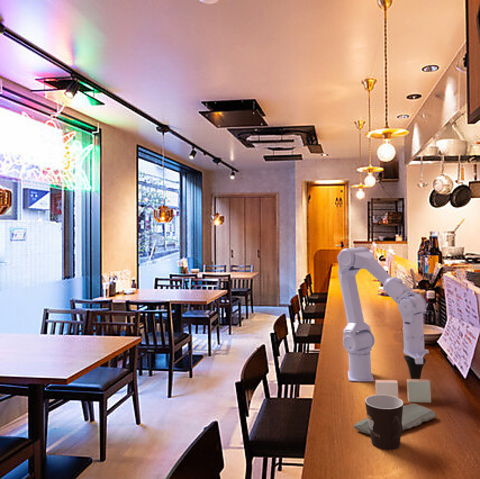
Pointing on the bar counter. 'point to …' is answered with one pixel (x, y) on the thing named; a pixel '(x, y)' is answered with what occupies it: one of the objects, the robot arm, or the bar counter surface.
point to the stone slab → (404, 418)
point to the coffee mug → (385, 420)
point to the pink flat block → (418, 390)
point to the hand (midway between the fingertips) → (415, 380)
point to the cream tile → (387, 387)
